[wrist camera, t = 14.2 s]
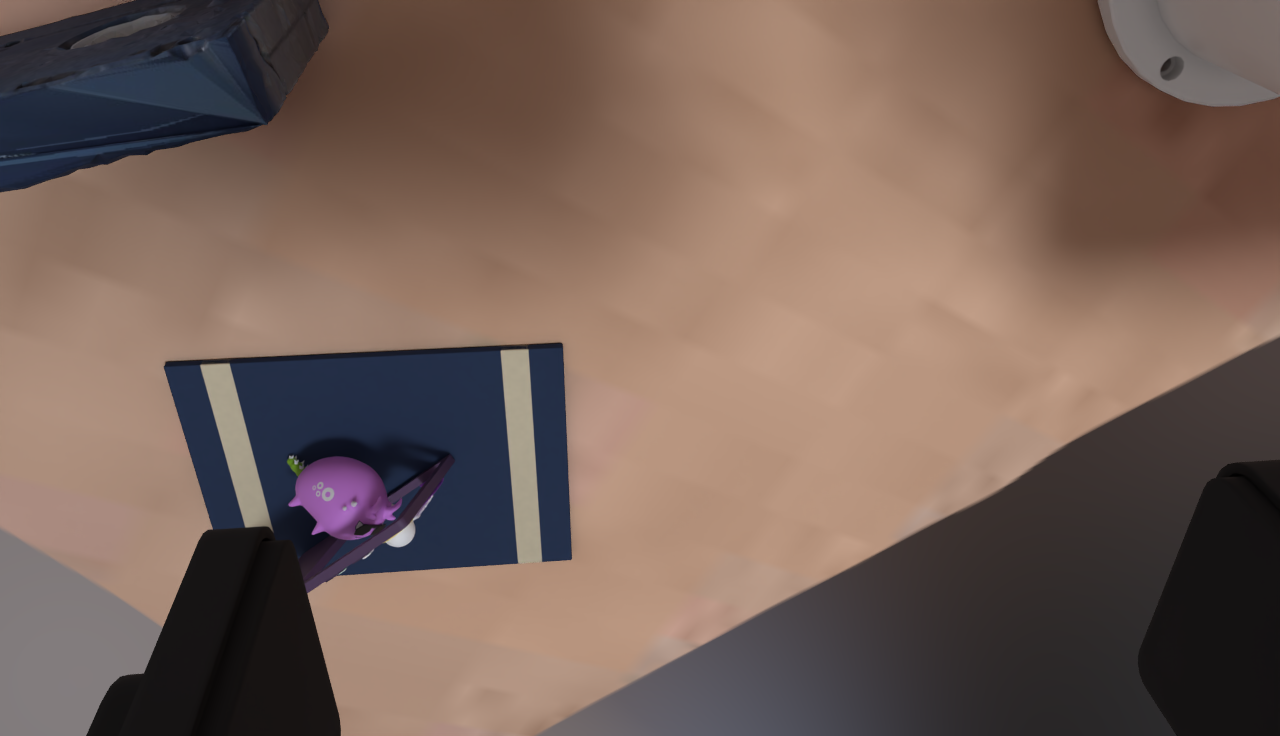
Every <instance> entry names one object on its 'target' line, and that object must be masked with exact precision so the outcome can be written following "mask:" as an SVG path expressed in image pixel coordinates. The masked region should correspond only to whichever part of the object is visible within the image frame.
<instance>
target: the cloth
mask: <svg viewBox="0 0 1280 736" xmlns="http://www.w3.org/2000/svg"><path fill="white" fill-rule="evenodd" d="M164 369H165V373H166V376H167V379H168V383H169V386H170V389H171V392H172V396H173V399H174V402H175V406H176V409H177V412H178V416H179V419H180V422H181V425H182V429H183V432H184V435H185V439H186V442H187V445H188V448H189V452H190V455H191V458H192V462H193V465H194V468H195V471H196V475H197V478H198V481H199V485H200V488H201V491H202V495H203V498H204V501H205V504H206V508H207V511H208V514H209V518H210V521H211V524H212V527H213V530H214V529H229V528H245V527H260V526H267V527H269V528H270V529H271V530H272V531H273V533H274V536H275V539H276V540H291V541H292V542H293V544H294V547H295V549H296V553H297V557H298V559H299V558H300V557H301V556H302V555H303V554H304V553H305V552H306V551H308V550H309V549H311V548H312V547H314V546H315V545H317V544H318V543H320V542H321V541H323V540H324V539H325V538H327V537H328V536H330V534H328V533H327V532H325V531H323V532H320V533H317V534H315V535H312V532H313V530H314V528H315V526H316V524H317V521H316V520H315V518H314V517H313V516H312V515H311V514H310V513H309V512H308V511H307V510H306V509H305V508H304V507H303V506H301V505H299V506H294V507H291V506H289V505H288V504H289V502H290V501H291V500H292V499H293V498H294V497H295V496H296V491H295V485H296V481H297V478H298V476H297V475H296V473H295V472H294V471H292V469H291V467H290V466H289V465H288V463H287V460H288V459H289V456H291V457H292V456H293V455H294V457H295V456H297V460H299V461H298V462H303V461H304V467H307V465H308V466H309V465H310V464H311V463H313V462H315V461H317V460H320V459H323V458H327V457H334V456H341V457H348V458H352V459H356V460H358V461H361V462H363V463H365V464H367V465H368V466H370V467H371V468H372V469H374V470H375V471H376V472H377V474H378V475H379V476H380V478H381V479H382V481H383V483H384V486H385V489H386V492H387V496H389V495H390V494H392V493H393V492H394V491H396V490H397V489H399V488H400V487H402V486H403V485H405V484H406V483H408V482H409V481H411V480H412V479H414V478H415V477H417V476H418V475H419V474H421V473H422V472H424V471H425V470H427V469H428V468H430V467H431V466H433V465H434V464H436V463H437V462H439V461H440V460H442V459H443V458H444V457H446V456H447V455H449V454H450V455H451V456H452V457H453V459H454V460H455V462H454V464H453V465H452V466H451V468H450V469H449V470H448V472H447V473H446V474H445V476H444V477H443V478H444V480H443V482H442V484H441V485H440V487H439V488H438V490H437V491H436V492H435V493H434V494H433V498H431V501H430V502H429V503H428V504H427V507H425V509H424V510H423V512H422V513H421V514H420V515H421V516H420V517H419V518H417V519H416V520H414V521H413V522H414V524H415V535H414V537H413V539H412V541H411V542H410V543H408V544H407V545H405V546H402V547H393V546H390V545H388V544H387V543H386V542H385V543H382V544H381V545H379V546H378V547H376V548H375V549H374V550H373V551H372V552H371V554H370V555H369V556H368V557H367V558H365V559H361V560H359V561H358V562H356V563H355V564H350V565H349V566H348V567H347V568H346V570H345V571H344V572H342V573H341V574H339V575H337V576H340V575H355V574H369V573H384V572H399V571H414V570H429V569H443V568H458V567H473V566H488V565H503V564H517V563H534V562H547V561H562V560H571V559H572V552H571V528H570V504H569V481H568V457H567V433H566V410H565V386H564V362H563V344H562V343H558V344H537V345H513V346H495V347H474V348H453V349H432V350H411V351H390V352H369V353H348V354H327V355H306V356H285V357H264V358H243V359H219V360H201V361H180V362H166V364H165V366H164ZM420 488H421V487H420V486H418V487H417V488H415V489H414V490H412V491H411V492H409V493H408V494H406V495H405V496H403V497H402V504H401V506H400V507H399V508H398V509H397V510H396V511H395V512H393V513H392V515H393V516H394V517H396V519H395V520H397V518H398V517H399V516H400V514H401V513H402V512H403V511H404V509H405V508H406V507H407V505H408V504H409V503H410V501H411V500H412V499H413V498H414V496H415V495H416V494H417V492H418V491H419V490H420ZM399 500H400V499H399ZM399 500H397V501H396V502H394V503H393V504H394V505H395V504H396V503H397V502H398V501H399ZM395 520H387V519H385V521H384V523H383V524H386V526H385V527H387V526H388V525H390V524H391V523H393V522H394V521H395ZM385 527H384V528H385ZM384 528H383V529H384ZM372 536H373V535H372ZM372 536H370V535H369V536H367V537H364V538H360V539H355V540H347V541H346V542H345V543H344V544H343V545H342V547H341V548H340V549H339V550H338V551H337V552H336V554H335V555H334V556H333V557H332V558H331V560H330V561H329V562H328V563H327V564H326V566H325V567H324V568H326V567H327V566H329V565H330V564H332V563H333V562H335V561H336V560H338V559H339V558H341V557H342V556H344V555H345V554H347V553H348V552H350V551H351V550H352V549H354V548H355V547H357V546H358V545H360V544H361V543H363V542H364V541H366V540H367V539H369V538H370V537H372ZM324 568H323V569H324ZM323 569H322V570H323Z"/></svg>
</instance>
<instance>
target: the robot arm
mask: <svg viewBox="0 0 1280 736" xmlns="http://www.w3.org/2000/svg"><path fill="white" fill-rule="evenodd" d="M1098 5H1099V9H1100V12H1101V16H1102V19H1103V23H1104V27H1105V30H1106V33H1107V35H1108V37H1109V39H1110V40H1111V42H1112V44H1113V46H1114V48H1115V49H1116V51H1117V53H1118V55H1119V57H1120V58H1121V59H1122V60H1123V61H1124V62H1125V63H1126V64H1127V65H1128V66H1129V67H1130V68H1131V70H1132V71H1133V72H1134V73H1135V74H1136V75H1137V76H1138V77H1140V78H1141V79H1143V80H1145V81H1146V82H1148V83H1149V84H1151V85H1153V86H1154V87H1156V88H1157V89H1159V90H1161V91H1163V92H1165V93H1167V94H1169V95H1172V96H1174V97H1176V98H1178V99H1180V100H1183V101H1185V102H1190V103H1195V104H1201V105H1206V106H1212V107H1219V106H1244V105H1248V104H1253V103H1258V102H1262V101H1267V100H1272V99H1275V98H1277V97H1280V0H1098ZM1138 667H1139V673H1140V676H1141V679H1142V682H1143V683H1144V685H1145V687H1146V689H1147V691H1148V692H1149V694H1150V695H1151V697H1152V698H1153V700H1154V701H1155V703H1156V704H1157V706H1158V708H1159V709H1160V711H1161V712H1162V714H1163V715H1164V717H1165V718H1166V719H1167V721H1168V723H1169V724H1170V726H1171V728H1172V729H1173V731H1174V732H1175V734H1176V735H1177V736H1280V460H1269V461H1255V462H1239V463H1232V464H1228V465H1227V466H1225V467H1224V468H1222V469H1221V470H1220V472H1219V474H1218V475H1217V477H1216V478H1214V479H1211V480H1210V481H1209V482H1207V484H1206V486H1205V487H1204V489H1203V492H1202V494H1201V497H1200V499H1199V502H1198V504H1197V507H1196V509H1195V512H1194V514H1193V517H1192V519H1191V522H1190V524H1189V527H1188V530H1187V532H1186V534H1185V537H1184V539H1183V542H1182V544H1181V547H1180V549H1179V552H1178V554H1177V557H1176V560H1175V562H1174V565H1173V567H1172V570H1171V572H1170V575H1169V577H1168V580H1167V582H1166V585H1165V587H1164V590H1163V592H1162V595H1161V598H1160V600H1159V602H1158V605H1157V607H1156V610H1155V612H1154V615H1153V617H1152V620H1151V623H1150V625H1149V627H1148V630H1147V632H1146V635H1145V638H1144V640H1143V643H1142V645H1141V648H1140V651H1139V655H1138ZM86 736H341V727H340V718H339V713H338V709H337V706H336V702H335V698H334V694H333V690H332V687H331V683H330V679H329V675H328V671H327V668H326V664H325V660H324V656H323V652H322V648H321V645H320V641H319V637H318V633H317V629H316V626H315V622H314V618H313V614H312V610H311V606H310V603H309V599H308V595H307V591H306V587H305V584H304V580H303V576H302V572H301V568H300V565H299V561H298V557H297V553H296V549H295V547H294V544H293V542H292V541H291V540H276V539H275V536H274V533H273V531H272V530H271V529H270V528H269V527H267V526H260V527H245V528H229V529H214V530H207V531H206V532H204V533H203V535H202V536H201V538H200V540H199V542H198V544H197V546H196V549H195V551H194V554H193V556H192V559H191V561H190V563H189V566H188V568H187V571H186V573H185V576H184V578H183V580H182V583H181V585H180V588H179V590H178V592H177V595H176V597H175V600H174V602H173V605H172V607H171V609H170V612H169V614H168V617H167V619H166V622H165V624H164V626H163V629H162V632H161V634H160V636H159V638H158V641H157V643H156V646H155V648H154V651H153V653H152V655H151V658H150V660H149V663H148V665H147V668H146V670H145V672H144V674H134V675H126V676H122V677H120V678H119V679H117V680H116V681H115V682H114V683H113V684H112V685H111V686H110V688H109V690H108V691H107V693H106V695H105V697H104V698H103V700H102V702H101V704H100V706H99V709H98V711H97V713H96V715H95V717H94V720H93V722H92V724H91V726H90V729H89V731H88V733H87V735H86Z"/></svg>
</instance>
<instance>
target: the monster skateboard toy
mask: <svg viewBox="0 0 1280 736" xmlns="http://www.w3.org/2000/svg"><path fill="white" fill-rule="evenodd" d="M298 461H299V460H297V456H295V457H294V455H293V456H292V457H291V456H289V459H288V460H287V463H288V465H289V466H290V467H291V469H292V471H294V472H295V473H296V475H297V476H298V478H297V481H296V485H295V491H296V496H295V497H294V498H293V499H292V500H291V501H290V502H289V504H288V505H289V506H291V507H294V506H299V505H301V506H303V507H304V508H305V509H306V510H307V511H308V512H309V513H310V514H311V515H312V516H313V517H314V518H315V520H316V521H317V524H316V526H315V528H314V530H313V532H312V535H315V534H317V533H320V532H323V531H325V532H327V533H328V534H330V536H328V537H327V538H325V539H324V540H323V541H321V542H320V543H318V544H317V545H315V546H314V547H312V548H311V549H309V550H308V551H306V552H305V553H304V554H303V555H302V556H301V557H300V558H299V559H298V561H299V565H300V568H301V572H302V576H303V580H304V584H305V587H306V591H307V593H308V592H310V591H311V590H313V589H314V588H316V587H317V586H319V585H320V584H322V583H323V582H328V581H329V580H331V579H332V578H334V577H335V576H337V575H339V574H341V573H342V572H344V571H345V570H346V568H347V567H348V566H349V565H350V564H355V563H356V562H358V561H359V560H361V559H365V558H367V557H368V556H369V555H370V554H371V552H372V551H373V550H374V549H375V548H376V547H378V546H379V545H381V544H382V543H385V542H386V543H387V544H388V545H390V546H393V547H402V546H405V545H407V544H408V543H410V542H411V541H412V539H413V537H414V535H415V524H414V522H413V521H414V520H416V519H417V518H419V517H420V516H421V515H420V514H421V513H422V512H423V510H424V509H425V507H427V504H428V503H429V502H430V501H431V498H433V494H434V493H435V492H436V491H437V490H438V488H439V487H440V485H441V484H442V482H443V480H444V478H443V477H444V476H445V474H446V473H447V472H448V470H449V469H450V468H451V466H452V465H453V464H454V462H455V460H454V459H453V457H452V456H451V455H450V454H449V455H447V456H446V457H444V458H443V459H442V460H440V461H439V462H437V463H436V464H434V465H433V466H431V467H430V468H428V469H427V470H425V471H424V472H422V473H421V474H419V475H418V476H417V477H415V478H414V479H412V480H411V481H409V482H408V483H406V484H405V485H403V486H402V487H400V488H399V489H397V490H396V491H394V492H393V493H392V494H390V495H389V496H387V492H386V489H385V486H384V483H383V481H382V479H381V478H380V476H379V475H378V474H377V472H376V471H375V470H374V469H372V468H371V467H370V466H368V465H367V464H365V463H363V462H361V461H358V460H356V459H352V458H348V457H341V456H334V457H327V458H323V459H320V460H317V461H315V462H313V463H311V464H310V465H309V466H308V465H307V467H304V461H303V462H298ZM418 486H420V487H421V488H420V490H419V491H418V492H417V494H416V495H415V496H414V498H413V499H412V500H411V501H410V503H409V504H408V505H407V507H406V508H405V509H404V511H403V512H402V513H401V514H400V516H399V517H398V518H397V520H395V519H396V517H394V516H393V515H392V513H393V512H395V511H396V510H397V509H398V508H399V507H400V506H401V504H402V497H403V496H405V495H406V494H408V493H409V492H411V491H412V490H414V489H415V488H417V487H418ZM399 499H400V500H399ZM397 500H399V501H398V502H397V503H396V504H395V505H394V504H393V503H394V502H396V501H397ZM385 519H387V520H395V521H394V522H393V523H391V524H390V525H388V526H387V527H385V526H386V524H383V523H384V521H385ZM384 527H385V528H384ZM383 528H384V529H383ZM369 535H370V536H372V535H373V536H372V537H370V538H369V539H367V540H366V541H364V542H363V543H361V544H360V545H358V546H357V547H355V548H354V549H352V550H351V551H350V552H348V553H347V554H345V555H344V556H342V557H341V558H339V559H338V560H336V561H335V562H333V563H332V564H330V565H329V566H327V567H326V568H324V567H325V566H326V564H327V563H328V562H329V561H330V560H331V558H332V557H333V556H334V555H335V554H336V552H337V551H338V550H339V549H340V548H341V547H342V545H343V544H344V543H345V542H346V541H347V540H355V539H360V538H364V537H367V536H369ZM323 568H324V569H323ZM322 569H323V570H322Z"/></svg>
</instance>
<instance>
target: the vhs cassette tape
mask: <svg viewBox="0 0 1280 736" xmlns="http://www.w3.org/2000/svg"><path fill="white" fill-rule="evenodd" d="M328 29H329V26H328V24H327V22H326V20H325V18H324V16H323V14H322V11H321V8H320V5H319V2H318V0H136V1H132V2H128V3H124V4H121V5H117V6H114V7H110V8H106V9H103V10H99V11H96V12H92V13H89V14H85V15H80V16H75V17H71V18H67V19H64V20H61V21H58V22H55V23H51V24H47V25H43V26H40V27H36V28H32V29H28V30H24V31H20V32H16V33H12V34H9V35H5V36H1V37H0V192H5V191H12V190H18V189H25V188H28V187H31V186H34V185H36V184H39V183H42V182H45V181H47V180H51V179H55V178H58V177H62V176H66V175H69V174H71V173H73V172H75V171H76V170H78V169H85V168H91V167H94V166H98V165H101V164H106V165H107V164H110V163H112V162H115V161H117V160H119V159H122V158H124V157H127V156H129V155H148V154H150V153H151V152H153V151H155V150H160V149H167V148H174V147H179V146H182V145H185V144H188V143H191V142H195V141H200V140H204V139H208V138H212V137H217V136H221V135H225V134H232V133H239V132H246V131H249V130H251V129H254V128H256V127H258V126H261V125H263V124H264V125H267V124H268V122H269V121H271V120H272V119H273V117H274V116H275V115H276V114H277V113H278V112H279V110H280V108H281V107H282V105H283V103H284V100H285V99H286V95H287V94H289V93H290V92H291V91H292V90H293V87H294V85H295V84H296V83H297V82H298V78H299V77H300V75H301V74H302V73H303V71H304V69H305V67H306V65H307V63H308V62H309V61H310V59H311V58H312V56H313V55H314V53H315V52H316V51H318V47H319V44H320V42H321V41H322V40H323V39H324V38H325V36H326V35H327V33H328Z"/></svg>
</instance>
